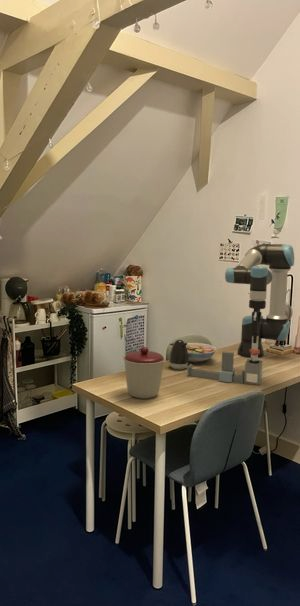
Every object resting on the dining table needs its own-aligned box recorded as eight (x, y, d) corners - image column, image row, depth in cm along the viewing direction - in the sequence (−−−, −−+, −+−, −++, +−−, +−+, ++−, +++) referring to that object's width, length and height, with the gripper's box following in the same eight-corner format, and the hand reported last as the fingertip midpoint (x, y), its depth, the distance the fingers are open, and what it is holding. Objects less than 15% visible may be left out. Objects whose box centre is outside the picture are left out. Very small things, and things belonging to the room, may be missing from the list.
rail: (190, 373, 225) (190, 363, 224) (244, 380, 215) (244, 370, 214) (187, 376, 220) (187, 366, 219) (242, 384, 210) (243, 373, 210)
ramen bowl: (226, 362, 246) (227, 347, 245) (197, 369, 232) (198, 354, 231) (193, 352, 265) (194, 339, 264) (165, 358, 251) (165, 344, 249)
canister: (114, 392, 195) (114, 345, 192) (147, 385, 206) (148, 340, 203) (138, 405, 181) (139, 354, 178) (172, 396, 192) (174, 348, 189)
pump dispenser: (178, 372, 226) (179, 343, 224) (164, 367, 234) (165, 339, 232) (192, 368, 233) (194, 340, 231) (178, 364, 241) (179, 336, 238)
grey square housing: (246, 379, 218) (247, 359, 217) (261, 380, 215) (262, 360, 214) (244, 383, 211) (245, 362, 210) (259, 385, 209) (260, 364, 207)
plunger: (249, 363, 215) (250, 348, 214) (259, 364, 214) (260, 349, 212) (248, 365, 211) (248, 350, 210) (258, 366, 209) (258, 351, 208)
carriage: (222, 376, 220) (223, 349, 218) (234, 378, 218) (235, 351, 216) (218, 380, 213) (220, 353, 211) (231, 382, 211) (232, 354, 209)
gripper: (251, 297, 215) (248, 345, 218) (247, 300, 203) (244, 351, 206) (267, 298, 212) (264, 347, 216) (264, 302, 200) (260, 353, 204)
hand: (254, 349), depth 211 cm, fingers closed
